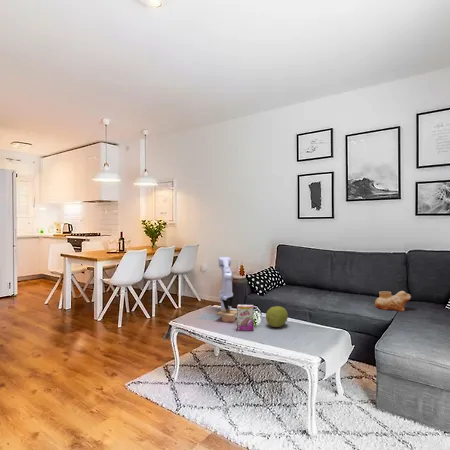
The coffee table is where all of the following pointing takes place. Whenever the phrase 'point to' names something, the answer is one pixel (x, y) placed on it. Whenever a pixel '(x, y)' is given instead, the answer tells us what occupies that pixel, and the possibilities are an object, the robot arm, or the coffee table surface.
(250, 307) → the candy bar box
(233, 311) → the oak lid
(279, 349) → the coffee table surface
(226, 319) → the terracotta bowl
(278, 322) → the fruit
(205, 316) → the grey flat square slab
